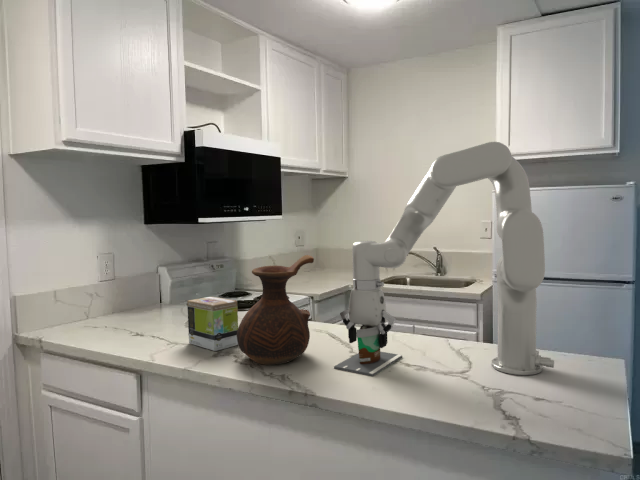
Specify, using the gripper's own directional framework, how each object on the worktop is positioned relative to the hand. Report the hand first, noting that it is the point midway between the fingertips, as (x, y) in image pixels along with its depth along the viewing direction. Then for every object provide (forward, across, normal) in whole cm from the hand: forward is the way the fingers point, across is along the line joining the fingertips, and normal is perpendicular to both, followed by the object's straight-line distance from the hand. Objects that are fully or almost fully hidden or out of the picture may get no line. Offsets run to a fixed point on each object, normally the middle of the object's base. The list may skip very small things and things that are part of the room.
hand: (367, 344), depth 138 cm
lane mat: (+5, -1, +1) cm, 5 cm away
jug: (+5, +25, +11) cm, 28 cm away
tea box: (+5, +52, +10) cm, 53 cm away
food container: (+4, -2, 0) cm, 5 cm away
